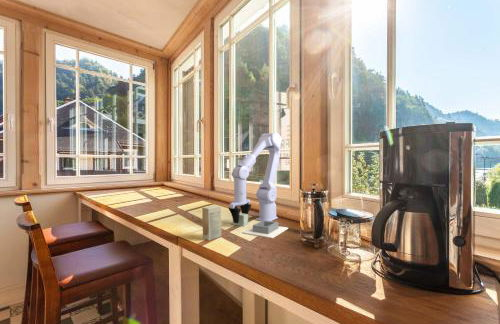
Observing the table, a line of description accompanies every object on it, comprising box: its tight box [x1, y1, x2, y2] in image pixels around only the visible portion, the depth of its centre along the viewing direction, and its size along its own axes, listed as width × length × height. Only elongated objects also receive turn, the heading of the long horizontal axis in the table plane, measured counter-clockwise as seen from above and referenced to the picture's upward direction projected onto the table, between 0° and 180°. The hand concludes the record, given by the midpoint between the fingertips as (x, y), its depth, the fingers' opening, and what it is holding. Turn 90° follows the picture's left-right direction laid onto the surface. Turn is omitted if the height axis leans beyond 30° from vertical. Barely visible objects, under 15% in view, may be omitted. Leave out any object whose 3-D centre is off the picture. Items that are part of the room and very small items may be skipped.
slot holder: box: [241, 220, 289, 239], centre depth 108 cm, size 16×14×3 cm
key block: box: [232, 212, 249, 227], centre depth 118 cm, size 4×6×5 cm, turn 59°
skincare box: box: [201, 204, 222, 241], centre depth 99 cm, size 6×4×12 cm
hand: (240, 221), depth 118 cm, fingers open, 7 cm apart
